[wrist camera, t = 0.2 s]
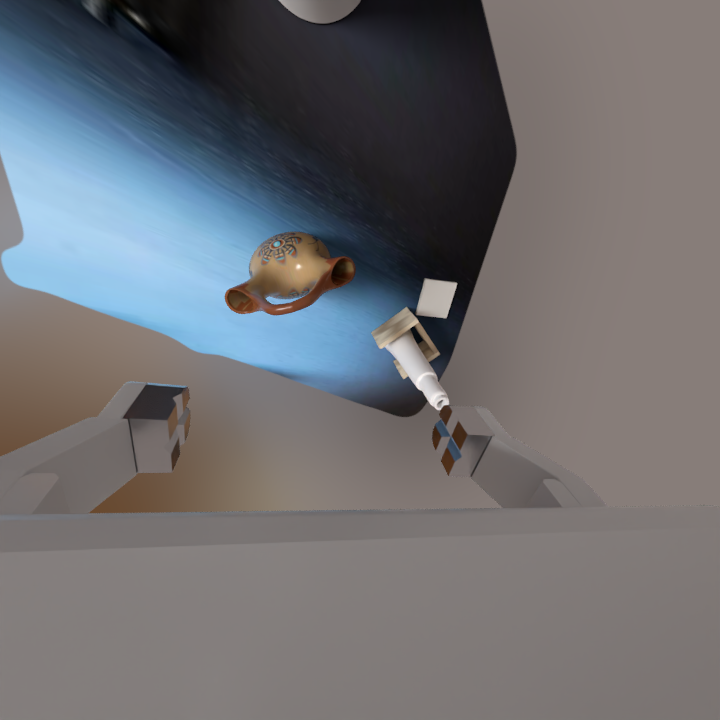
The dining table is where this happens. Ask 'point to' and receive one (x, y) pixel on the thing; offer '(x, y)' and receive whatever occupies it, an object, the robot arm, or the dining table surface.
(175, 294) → the dining table surface
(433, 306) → the stone coaster
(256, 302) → the ceramic vessel
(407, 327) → the beech cradle
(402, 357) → the cosmetic bottle
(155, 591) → the robot arm
